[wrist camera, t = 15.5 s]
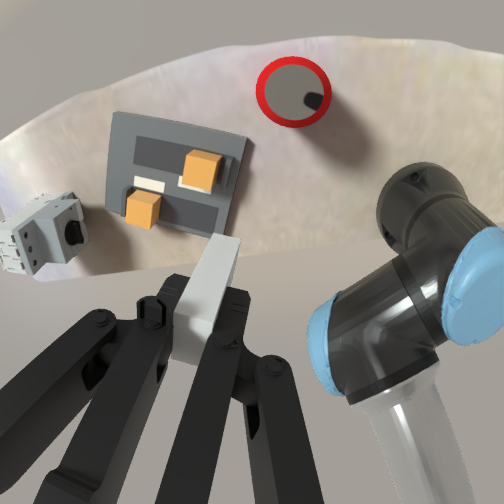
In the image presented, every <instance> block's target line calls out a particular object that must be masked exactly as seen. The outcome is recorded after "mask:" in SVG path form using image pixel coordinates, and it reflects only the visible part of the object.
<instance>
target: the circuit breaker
mask: <svg viewBox="0 0 504 504" xmlns="http://www.w3.org/2000/svg"><path fill="white" fill-rule="evenodd" d="M83 219H84V216H83V212H82V207H81V203H80V199H74V198H73V193H72V192H59V193H46V194H45V195H43V194H41V197H36V198H34V199H33V200H31V201H30V202H28V203H27V206H25V207H24V208H22V209H21V210H19V211H18V212H16V213H15V214H14V215H12V216H11V217H9V218H7V219H4V220H2V221H1V222H0V261H1V264H2V267H3V269H4V271H6V270H7V271H8V272H14V273H21V274H28V275H34V274H35V273H36V272H37V271H38V270H39V269H40V268H41V267H42V266H43V265H44V264H45V263H47V262H49V263H61V264H67V263H68V262H69V261H70V260H71V259H72V258H73V257H75V256H76V255H77V253H78V252H79V251H80V250H81V249H82V248H83V247H84V246H85V245H86V244H87V243H88V242H89V237H88V233H87V229H86V225H85V222H83ZM1 256H2V257H1ZM2 259H3V260H2Z"/></svg>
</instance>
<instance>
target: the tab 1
mask: <svg viewBox="0 0 504 504" xmlns="http://www.w3.org/2000/svg"><path fill="white" fill-rule="evenodd" d="M160 203H161V195H157V194H153V193H149V192H145V191H141V190H136V191H135V192H134V193H133V194H132V195H130V196H129V197H128V198H127V209H126V223H129V224H132V225H136V226H139V227H143V228H147V229H151V228H152V226H153V225H154V224H155V223H156V222H157V220H158V219H159V211H160Z"/></svg>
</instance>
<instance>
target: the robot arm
mask: <svg viewBox="0 0 504 504" xmlns="http://www.w3.org/2000/svg"><path fill="white" fill-rule="evenodd" d="M376 216H377V223H378V227H379V230H380V232H381V234H382V236H383V238H384V239H385V241H386V242H387V244H388V245H389V246H390V247H391V248H392V249H393V250H394V251H395V252H396V253H398V254H399V255H398V256H397V257H395V258H394V259H392V260H390V261H389V262H387V263H386V264H384V265H383V266H381V267H380V268H378V269H377V270H375V271H374V272H372V273H371V274H369V275H368V276H366V277H364V278H363V279H361V280H360V281H358V282H357V283H355V284H353V285H352V286H350V287H348V288H347V289H345V290H343V291H339V292H338V293H336V294H335V295H334V296H333V297H332V298H331V299H330V300H328V301H327V302H326V303H324V304H322V305H321V306H320V307H318V308H317V309H316V310H315V311H314V312H313V314H312V315H311V317H310V320H309V325H308V328H307V345H308V351H309V356H310V360H311V363H312V366H313V369H314V372H315V374H316V376H317V378H318V380H319V381H320V382H321V383H323V385H324V388H325V389H326V391H328V392H329V393H330V394H332V395H334V396H346V398H347V400H348V403H349V405H350V408H352V409H355V410H357V411H360V412H362V413H365V414H366V415H367V416H368V417H369V420H370V422H371V425H372V427H373V430H374V433H375V435H376V438H377V440H378V443H379V446H380V448H381V451H382V453H383V456H384V459H385V461H386V464H387V467H388V469H389V472H390V475H391V478H392V480H393V483H394V486H395V489H396V492H397V494H398V497H399V500H400V503H401V504H476V502H475V498H474V495H473V491H472V487H471V484H470V480H469V477H468V473H467V470H466V467H465V464H464V461H463V458H462V454H461V451H460V449H459V446H458V443H457V440H456V437H455V434H454V432H453V429H452V426H451V423H450V420H449V418H448V415H447V412H446V410H445V407H444V405H443V402H442V400H441V397H440V395H439V392H438V390H437V388H436V385H435V376H436V374H437V371H438V368H439V365H440V361H439V358H438V356H437V354H436V352H435V348H436V347H438V346H439V345H441V344H442V343H444V342H446V341H447V340H452V341H453V342H454V343H456V344H458V345H463V346H469V345H470V344H471V343H472V342H473V343H474V344H477V343H480V342H482V341H484V340H486V339H488V338H489V337H491V336H492V335H493V334H495V333H496V332H497V331H498V330H499V329H500V328H501V327H502V326H503V325H504V231H503V230H502V229H501V228H499V227H497V226H496V225H495V224H494V223H493V222H492V221H491V220H490V219H489V218H487V217H486V216H485V215H484V214H483V213H482V212H480V211H479V210H478V209H477V208H476V207H474V206H473V205H472V204H471V203H470V202H469V200H468V198H467V196H466V193H465V191H464V189H463V187H462V185H461V183H460V182H459V181H458V179H457V178H456V177H455V176H454V175H453V174H452V173H450V172H449V171H447V170H446V169H444V168H443V167H441V166H439V165H437V164H433V163H428V162H420V163H414V164H411V165H408V166H406V167H404V168H402V169H401V170H399V171H398V172H396V173H395V174H394V175H393V176H392V177H391V178H390V179H389V180H388V182H387V183H386V184H385V186H384V187H383V189H382V191H381V194H380V196H379V199H378V203H377V210H376ZM240 242H241V239H238V238H234V237H229V236H225V235H221V234H217V233H213V235H212V237H211V239H210V241H209V242H208V244H207V246H206V248H205V250H204V252H203V254H202V256H201V258H200V260H199V262H198V264H197V266H196V268H195V270H194V272H193V274H192V276H191V278H190V277H186V276H182V275H178V274H175V273H174V274H173V275H171V276H170V277H168V278H167V279H166V280H165V282H164V284H163V286H162V287H161V289H160V290H159V292H158V294H157V296H146V297H143V298H141V299H140V300H139V301H137V319H134V320H119V319H116V317H115V315H114V314H113V313H112V312H111V311H109V310H106V309H96V310H92V311H91V312H89V313H88V314H86V315H85V316H84V317H83V318H81V319H80V320H79V321H78V322H77V323H75V324H74V325H73V326H72V327H71V328H70V329H68V330H67V331H66V332H65V333H64V334H62V335H61V336H60V337H59V338H58V339H57V340H55V341H54V342H53V343H52V344H51V345H50V346H48V347H47V348H46V349H45V350H44V351H43V352H42V353H40V354H39V355H38V356H37V357H36V358H35V359H34V360H33V361H31V362H30V363H29V364H28V365H27V366H26V367H25V368H24V369H22V370H21V371H20V372H19V373H18V374H17V375H16V376H15V377H14V378H12V379H11V380H10V381H9V382H8V383H7V384H6V385H5V386H4V387H3V388H2V389H1V390H0V494H2V493H4V492H5V491H6V490H8V489H9V488H11V487H12V486H13V485H14V484H15V483H16V482H17V481H18V480H19V479H20V478H21V476H22V475H23V474H24V473H25V472H26V471H27V469H29V468H30V466H31V465H32V464H33V463H34V462H35V461H36V460H37V458H38V457H39V456H40V455H41V454H42V453H43V452H44V451H45V450H46V448H47V447H48V446H49V445H50V444H51V443H52V442H53V441H54V439H55V438H56V437H57V436H58V435H59V434H60V433H61V432H62V431H63V430H64V428H65V427H66V426H67V425H68V424H69V423H70V422H71V421H72V420H73V419H74V417H75V416H76V415H77V414H78V413H79V412H80V411H81V410H82V409H83V407H84V406H85V405H86V404H87V403H88V402H89V401H90V400H91V399H92V400H91V402H90V404H89V406H88V408H87V410H86V412H85V414H84V416H83V418H82V420H81V422H80V424H79V426H78V428H77V430H76V432H75V434H74V436H73V438H72V440H71V442H70V444H69V446H68V448H67V450H66V452H65V454H64V456H63V459H62V461H61V463H60V465H59V466H58V467H57V468H56V469H54V470H52V471H50V472H49V473H48V474H47V475H46V477H45V479H44V480H43V482H42V484H41V487H40V489H39V491H38V494H37V496H36V498H35V500H34V503H33V504H116V503H117V500H118V497H119V495H120V492H121V489H122V486H123V483H124V480H125V478H126V475H127V472H128V469H129V467H130V464H131V461H132V459H133V456H134V453H135V450H136V448H137V445H138V442H139V440H140V436H141V435H142V432H143V429H144V427H145V424H146V421H147V419H148V416H149V413H150V411H151V408H152V406H153V403H154V401H155V398H156V395H157V393H158V390H159V388H160V385H161V383H162V380H163V378H164V375H165V373H166V370H167V366H168V359H169V356H170V354H171V359H175V360H178V361H182V362H185V363H188V364H192V365H196V366H198V369H197V372H196V375H195V378H194V381H193V384H192V387H191V390H190V393H189V397H188V399H187V403H186V406H185V409H184V412H183V415H182V418H181V421H180V424H179V427H178V431H177V434H176V437H175V440H174V443H173V446H172V450H171V453H170V456H169V459H168V462H167V465H166V469H165V472H164V475H163V478H162V482H161V485H160V488H159V491H158V495H157V498H156V501H155V504H208V500H209V495H210V491H211V486H212V482H213V477H214V473H215V468H216V464H217V459H218V455H219V450H220V446H221V441H222V436H223V431H224V427H225V423H226V418H227V413H228V409H229V404H230V399H231V397H232V398H234V399H236V400H238V401H240V402H241V403H243V410H244V419H245V427H246V435H247V443H248V451H249V459H250V467H251V475H252V483H253V490H254V497H255V504H324V501H323V497H322V492H321V488H320V484H319V480H318V475H317V471H316V467H315V463H314V459H313V454H312V450H311V446H310V442H309V438H308V434H307V430H306V426H305V421H304V417H303V413H302V409H301V405H300V401H299V397H298V393H297V389H296V385H295V381H294V377H293V373H292V369H291V367H290V365H289V363H288V362H287V361H286V360H285V359H283V358H281V357H279V356H276V355H266V356H263V357H262V358H261V357H259V356H257V355H255V354H253V353H252V352H250V351H249V350H248V349H247V348H246V346H245V345H244V342H243V335H244V330H245V325H246V320H247V316H248V311H249V305H250V301H251V298H250V296H249V293H248V291H244V290H240V289H236V288H232V287H230V285H231V282H232V278H233V274H234V269H235V265H236V260H237V255H238V251H239V246H240Z"/></svg>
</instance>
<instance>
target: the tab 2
mask: <svg viewBox="0 0 504 504" xmlns="http://www.w3.org/2000/svg"><path fill="white" fill-rule="evenodd" d="M221 159H222V156H221V155H217V154H213V153H208V152H204V151H200V150H195V149H194V150H192V151H191V152H190V153H188V154H187V155H186V160H185V166H184V171H183V177H182V183H181V184H184V185H188V186H192V187H196V188H200V189H204V190H208V191H211V190H212V188H213V187H214V185H215V184H216V181H217V176H218V172H219V167H220V163H221Z"/></svg>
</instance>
